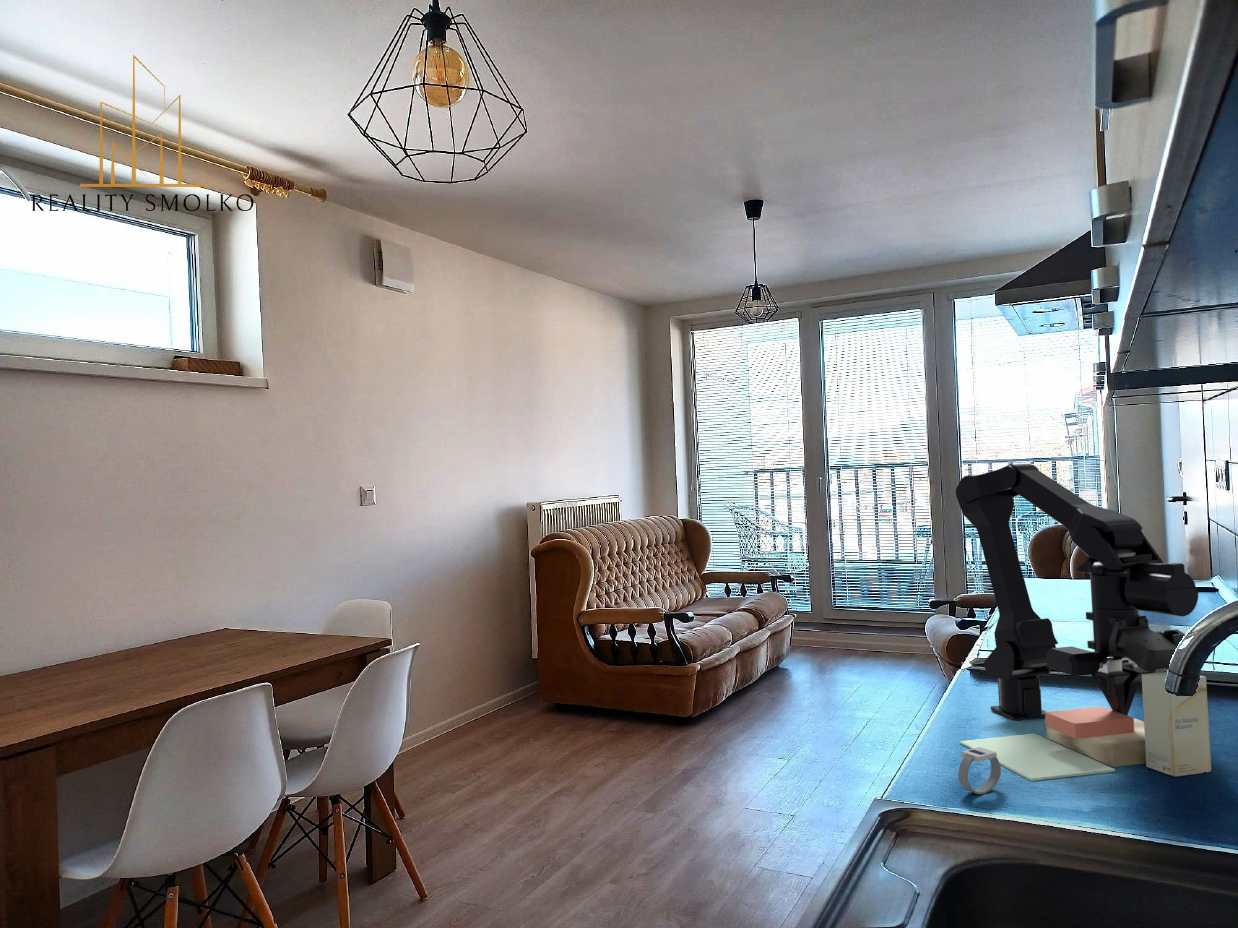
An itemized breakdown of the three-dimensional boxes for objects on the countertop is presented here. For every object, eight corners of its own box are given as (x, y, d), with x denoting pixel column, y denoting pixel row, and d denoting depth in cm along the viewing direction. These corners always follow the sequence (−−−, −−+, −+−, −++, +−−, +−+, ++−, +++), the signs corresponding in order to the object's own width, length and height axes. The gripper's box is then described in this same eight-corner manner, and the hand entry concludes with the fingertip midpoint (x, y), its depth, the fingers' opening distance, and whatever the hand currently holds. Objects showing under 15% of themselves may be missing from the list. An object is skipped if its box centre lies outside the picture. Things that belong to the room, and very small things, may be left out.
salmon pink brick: (1075, 738, 114) (1075, 723, 114) (1045, 726, 120) (1045, 711, 120) (1134, 732, 116) (1133, 717, 116) (1101, 720, 121) (1101, 706, 121)
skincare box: (1174, 778, 106) (1169, 681, 107) (1144, 767, 111) (1139, 673, 111) (1213, 771, 108) (1208, 676, 108) (1182, 760, 112) (1177, 668, 113)
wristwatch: (988, 783, 107) (986, 744, 107) (1007, 790, 105) (1005, 749, 105) (953, 793, 105) (951, 752, 105) (972, 800, 102) (970, 759, 102)
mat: (959, 743, 123) (959, 740, 123) (1034, 735, 125) (1034, 733, 125) (1031, 780, 108) (1031, 778, 108) (1114, 771, 110) (1114, 769, 110)
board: (1047, 737, 124) (1046, 717, 124) (1113, 730, 126) (1112, 710, 126) (1113, 766, 111) (1111, 743, 111) (1186, 758, 113) (1185, 736, 113)
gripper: (1098, 620, 110) (1105, 741, 109) (1222, 610, 113) (1229, 727, 113) (1041, 608, 120) (1047, 718, 120) (1155, 599, 124) (1161, 706, 124)
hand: (1121, 718), depth 119 cm, fingers closed
